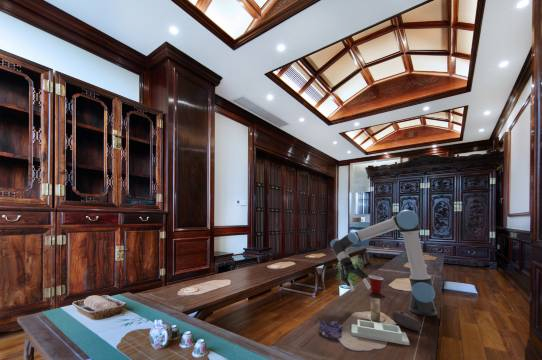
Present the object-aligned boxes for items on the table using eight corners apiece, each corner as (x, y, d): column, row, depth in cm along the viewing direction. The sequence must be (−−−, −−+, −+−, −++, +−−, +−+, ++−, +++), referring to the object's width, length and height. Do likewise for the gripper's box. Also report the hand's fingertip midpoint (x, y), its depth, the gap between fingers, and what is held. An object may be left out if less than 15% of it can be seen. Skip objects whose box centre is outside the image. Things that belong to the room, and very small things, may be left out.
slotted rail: (405, 335, 129) (405, 326, 129) (409, 345, 119) (409, 335, 120) (351, 327, 137) (351, 318, 137) (351, 335, 127) (351, 325, 128)
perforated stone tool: (424, 332, 133) (423, 318, 134) (419, 334, 131) (418, 320, 131) (397, 321, 146) (396, 308, 147) (391, 323, 143) (391, 310, 144)
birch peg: (379, 320, 147) (379, 298, 148) (380, 323, 142) (380, 301, 143) (370, 318, 148) (370, 297, 150) (371, 322, 143) (370, 300, 145)
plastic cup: (385, 295, 192) (384, 279, 193) (370, 294, 194) (369, 278, 195) (382, 291, 202) (381, 275, 204) (367, 290, 205) (367, 274, 206)
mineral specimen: (317, 338, 124) (317, 329, 124) (321, 325, 137) (321, 317, 137) (341, 343, 120) (341, 333, 121) (342, 329, 133) (342, 321, 134)
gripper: (355, 262, 179) (373, 290, 164) (327, 264, 168) (342, 294, 153) (361, 255, 175) (379, 284, 159) (332, 257, 164) (348, 288, 149)
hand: (361, 289), depth 156 cm, fingers open, 13 cm apart
